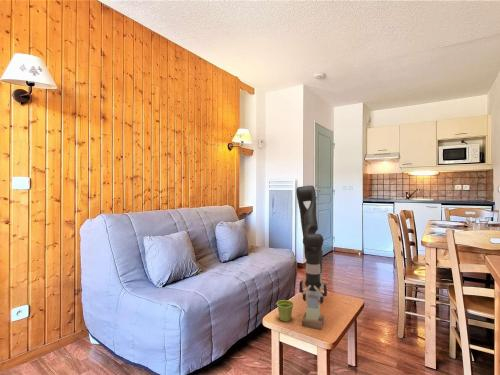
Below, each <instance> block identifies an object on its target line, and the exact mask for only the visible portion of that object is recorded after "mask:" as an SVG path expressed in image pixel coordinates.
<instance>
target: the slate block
mask: <svg viewBox="0 0 500 375" xmlns="http://www.w3.org/2000/svg"><path fill="white" fill-rule="evenodd" d="M306 302H307V303H306V304H307V305H306V307H308V308H315V309H317V308H318V305H319V301H318V296H317V295H310V294H309V295H308V298H307V297H306Z"/></svg>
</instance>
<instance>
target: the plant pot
mask: <svg viewBox="0 0 500 375" xmlns="http://www.w3.org/2000/svg"><path fill="white" fill-rule="evenodd" d="M276 306H277V309H278V316H279V320H280V321H283V322H286V323H287V322H290V321H291V320H292V313H293V312H292V311H293V307H294V306H295V305H294V302H293V301H291V300H289V299H288V300H287V299H281V300H277V302H276Z"/></svg>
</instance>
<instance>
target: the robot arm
mask: <svg viewBox="0 0 500 375" xmlns="http://www.w3.org/2000/svg"><path fill="white" fill-rule="evenodd" d="M295 190H296V198H297V204H298V209H299V210H298V211H299V214H300V215H299V216H300V224H301V232H302V238H303V239H302V244H303V250H304V253H303V254H304V259H305V260H306V261H305V262H306V263H305V281H304V280H303V279H301V280H300V282H299V286H298V287H299V293H301V294H302V300H303V302H307V298H308V295H309V294H310V295H317V296H318V302H319V305H320V304H321V305H322V304H323V303H324V297H327V296H328V287H327V283H323V271H322V270H323V254H324V253H323V249H322V248H323V244H324V236H323V235H322V234H321V233H317V231H318V229H319V226H318V220H317V197H316V193H317V192H316V189H315V186H314V185H303V186H298V187H296V189H295ZM304 202H310V204H309V207H308V208H307V207H306V205H305V203H304ZM304 285H305V288H304V289H303V287H304Z"/></svg>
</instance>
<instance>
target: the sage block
mask: <svg viewBox="0 0 500 375" xmlns="http://www.w3.org/2000/svg"><path fill="white" fill-rule="evenodd" d="M305 308H306V309H305V310H306V319H310V320H315V321H318V319H319V317H320V315H321V305H320V304H318V308H317V309H315V308H308V307H307V306H306V307H305Z"/></svg>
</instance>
